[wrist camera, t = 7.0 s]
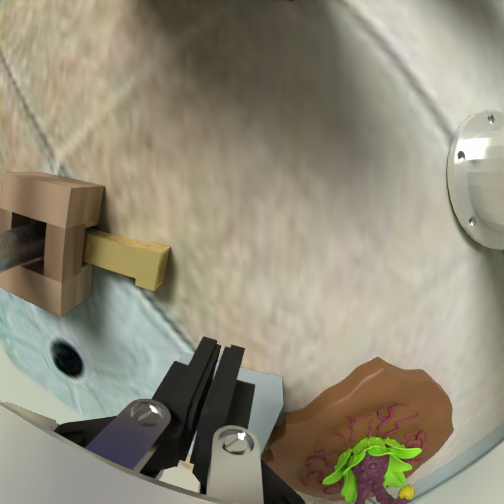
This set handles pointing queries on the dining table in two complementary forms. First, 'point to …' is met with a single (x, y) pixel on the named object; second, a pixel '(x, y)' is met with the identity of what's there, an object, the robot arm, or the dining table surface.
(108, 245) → the bar
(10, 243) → the peg
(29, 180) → the socket block
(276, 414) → the grey square holed block
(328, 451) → the plant
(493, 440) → the dining table surface
